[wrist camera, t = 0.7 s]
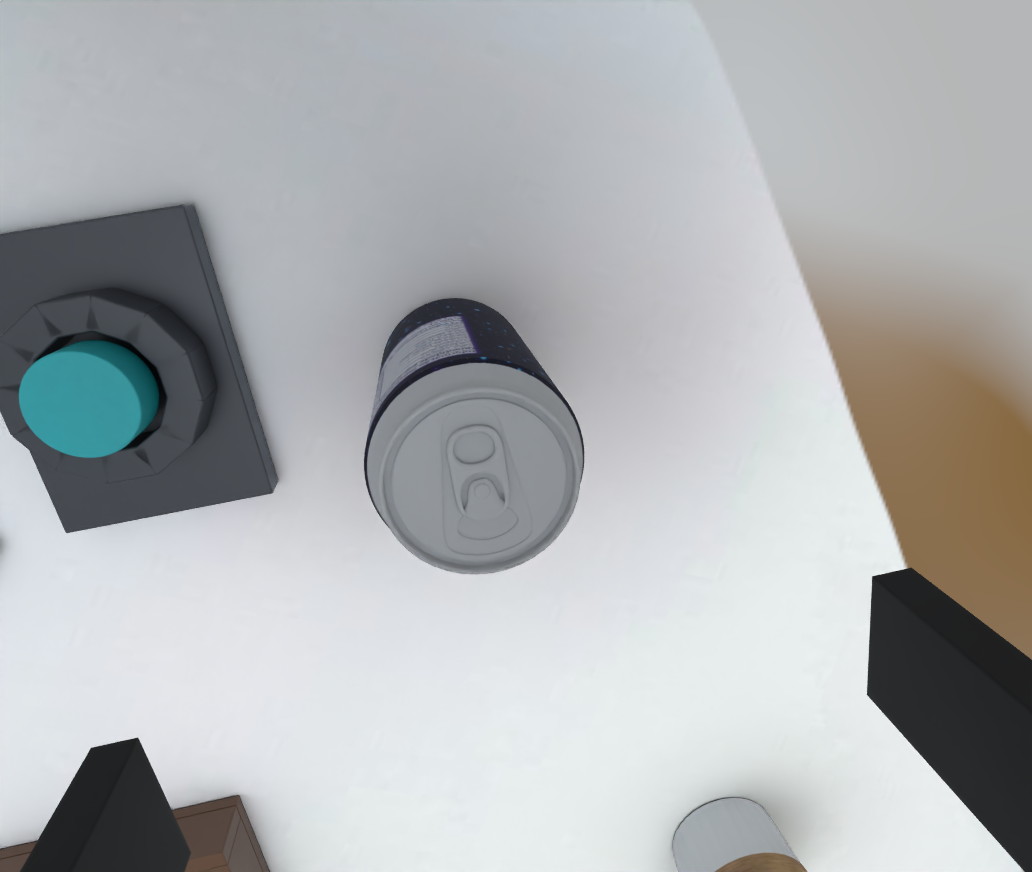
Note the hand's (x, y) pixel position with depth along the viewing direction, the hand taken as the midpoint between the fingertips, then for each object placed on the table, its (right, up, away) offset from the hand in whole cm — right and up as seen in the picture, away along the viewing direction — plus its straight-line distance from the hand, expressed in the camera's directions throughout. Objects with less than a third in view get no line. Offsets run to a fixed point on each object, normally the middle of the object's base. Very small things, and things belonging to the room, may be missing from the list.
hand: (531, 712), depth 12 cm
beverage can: (-3, +8, +15) cm, 18 cm away
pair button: (-14, +7, +11) cm, 19 cm away
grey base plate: (-15, +7, +14) cm, 21 cm away
